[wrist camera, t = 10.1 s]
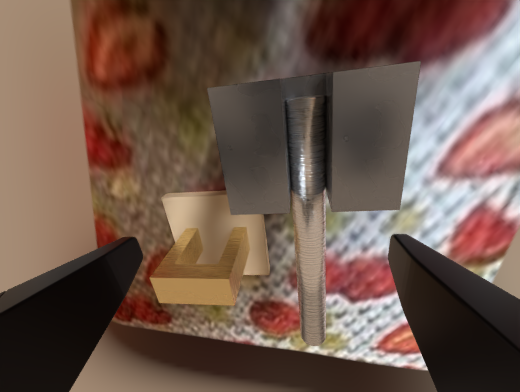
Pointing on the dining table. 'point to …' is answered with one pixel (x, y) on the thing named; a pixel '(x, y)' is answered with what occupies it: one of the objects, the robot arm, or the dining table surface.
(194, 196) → the birch pad
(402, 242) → the robot arm
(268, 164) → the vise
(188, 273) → the tan u-shaped bracket
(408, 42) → the dining table surface
